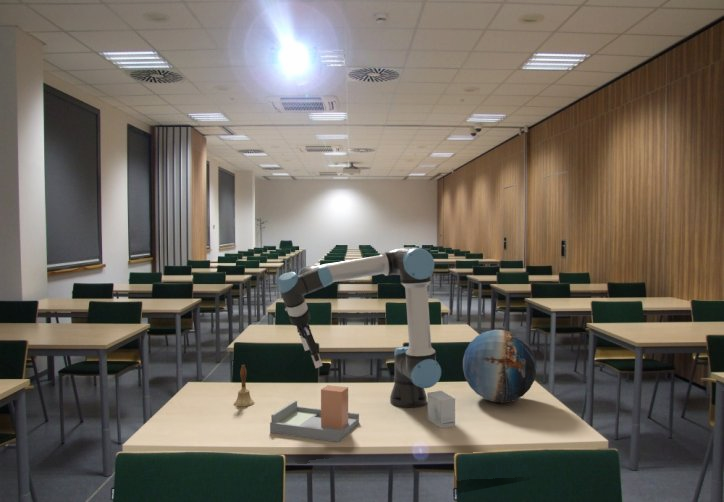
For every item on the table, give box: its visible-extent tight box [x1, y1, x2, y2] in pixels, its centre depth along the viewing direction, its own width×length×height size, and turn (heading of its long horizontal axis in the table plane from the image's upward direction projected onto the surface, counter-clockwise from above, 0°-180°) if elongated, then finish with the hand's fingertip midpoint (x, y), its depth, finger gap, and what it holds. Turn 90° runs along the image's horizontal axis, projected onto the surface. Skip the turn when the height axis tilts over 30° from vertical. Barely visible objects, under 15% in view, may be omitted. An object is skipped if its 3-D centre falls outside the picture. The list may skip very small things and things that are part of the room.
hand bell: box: [233, 364, 255, 408], centre depth 227 cm, size 8×8×16 cm
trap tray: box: [269, 399, 360, 443], centre depth 199 cm, size 26×20×6 cm
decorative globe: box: [462, 329, 537, 404], centre depth 231 cm, size 30×30×30 cm
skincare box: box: [426, 390, 456, 429], centre depth 204 cm, size 10×6×10 cm, turn 21°
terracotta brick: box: [320, 384, 349, 429], centre depth 197 cm, size 8×6×13 cm
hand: (313, 357), depth 213 cm, fingers open, 13 cm apart
